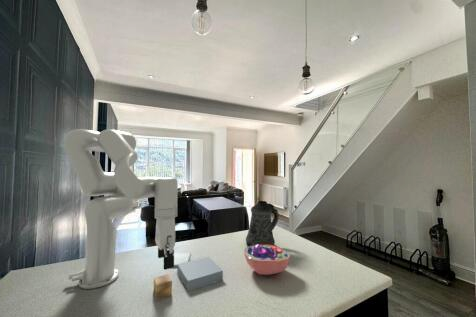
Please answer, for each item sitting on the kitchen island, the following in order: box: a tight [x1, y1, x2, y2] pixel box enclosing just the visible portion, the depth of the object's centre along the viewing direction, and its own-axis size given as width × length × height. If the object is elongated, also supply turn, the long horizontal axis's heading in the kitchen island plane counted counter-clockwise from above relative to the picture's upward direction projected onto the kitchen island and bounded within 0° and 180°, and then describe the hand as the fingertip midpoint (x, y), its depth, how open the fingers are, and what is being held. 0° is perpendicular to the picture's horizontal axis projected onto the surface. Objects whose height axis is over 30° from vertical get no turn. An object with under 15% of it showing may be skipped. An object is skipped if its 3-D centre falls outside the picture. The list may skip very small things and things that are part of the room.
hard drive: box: [173, 252, 191, 268], centre depth 91 cm, size 2×8×12 cm
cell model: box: [243, 244, 291, 276], centre depth 83 cm, size 17×20×11 cm
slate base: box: [176, 256, 224, 292], centre depth 79 cm, size 14×14×4 cm
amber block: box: [152, 273, 173, 301], centre depth 67 cm, size 5×5×5 cm
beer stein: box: [245, 200, 280, 247], centre depth 113 cm, size 16×19×25 cm
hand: (165, 262), depth 68 cm, fingers open, 9 cm apart
